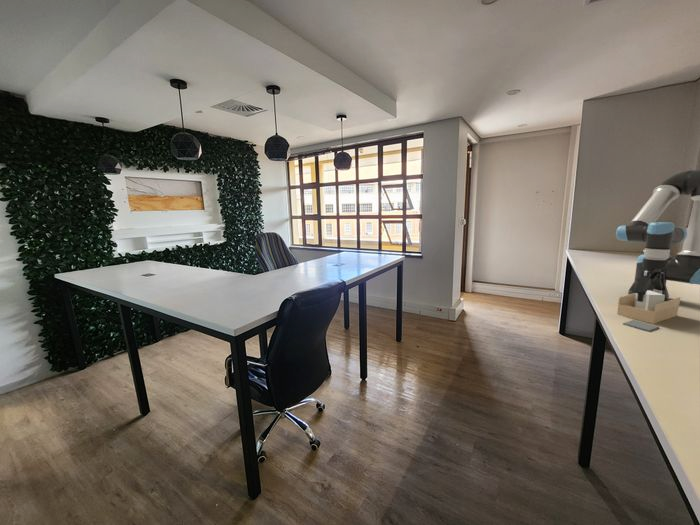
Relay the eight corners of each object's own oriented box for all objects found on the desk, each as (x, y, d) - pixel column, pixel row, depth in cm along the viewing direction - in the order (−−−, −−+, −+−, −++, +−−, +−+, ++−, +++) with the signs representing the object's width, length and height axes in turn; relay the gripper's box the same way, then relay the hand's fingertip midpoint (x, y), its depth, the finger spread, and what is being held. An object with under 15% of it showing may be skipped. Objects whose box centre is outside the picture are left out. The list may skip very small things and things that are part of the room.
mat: (633, 321, 122) (633, 320, 122) (659, 328, 114) (659, 326, 114) (622, 324, 119) (622, 323, 118) (648, 331, 111) (649, 330, 111)
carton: (640, 307, 138) (643, 291, 136) (677, 315, 127) (680, 297, 125) (616, 314, 130) (619, 297, 128) (653, 324, 118) (656, 304, 117)
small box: (661, 318, 124) (665, 295, 122) (646, 318, 125) (650, 294, 123) (647, 312, 131) (650, 290, 130) (632, 312, 133) (635, 289, 131)
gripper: (657, 255, 132) (650, 300, 136) (628, 259, 122) (621, 307, 126) (681, 257, 125) (673, 304, 129) (652, 262, 116) (644, 313, 119)
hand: (647, 306), depth 127 cm, fingers open, 13 cm apart
